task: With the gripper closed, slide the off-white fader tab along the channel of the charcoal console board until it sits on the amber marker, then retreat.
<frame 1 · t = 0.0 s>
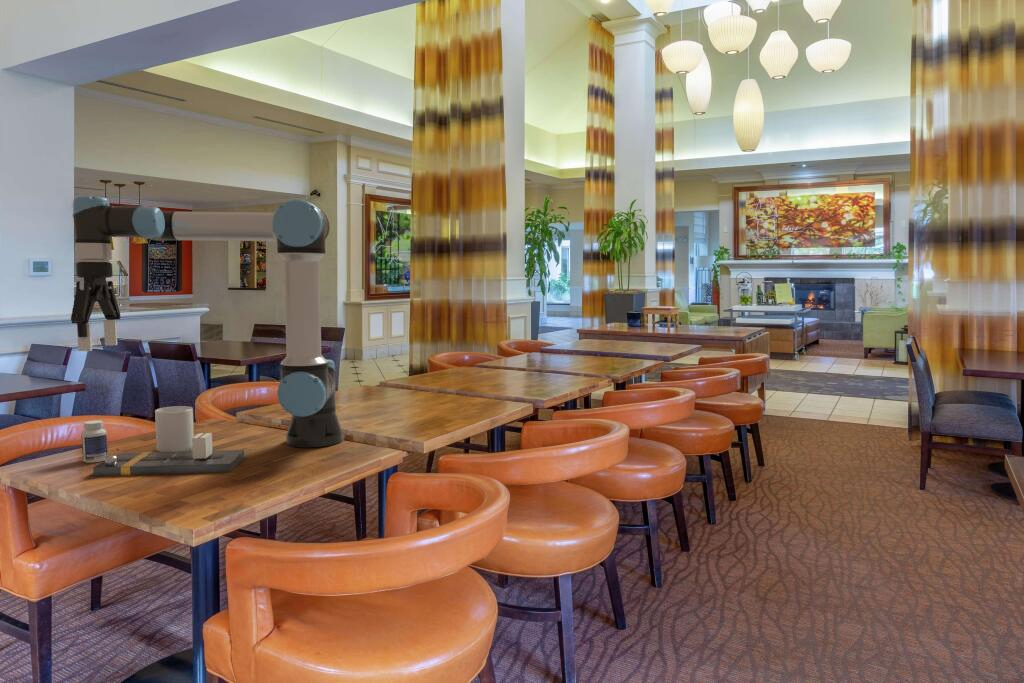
hand: (98, 348, 169), 28 cm above the table, fingers open, 13 cm apart
fader tab: (202, 445, 166), point 5 cm above the table, slide at 0.0 cm
console board: (172, 466, 165), on the table
pill bottle: (95, 461, 171), on the table
mug: (176, 450, 182), on the table
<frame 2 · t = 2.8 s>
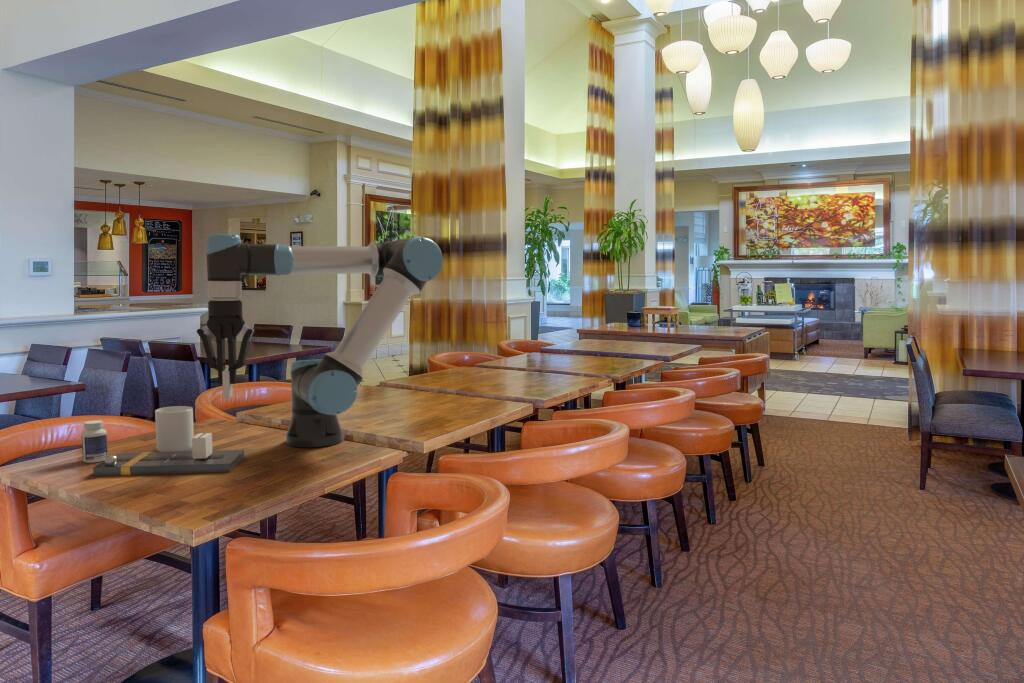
hand: (227, 397, 165), 17 cm above the table, fingers closed
nothing on the table moved.
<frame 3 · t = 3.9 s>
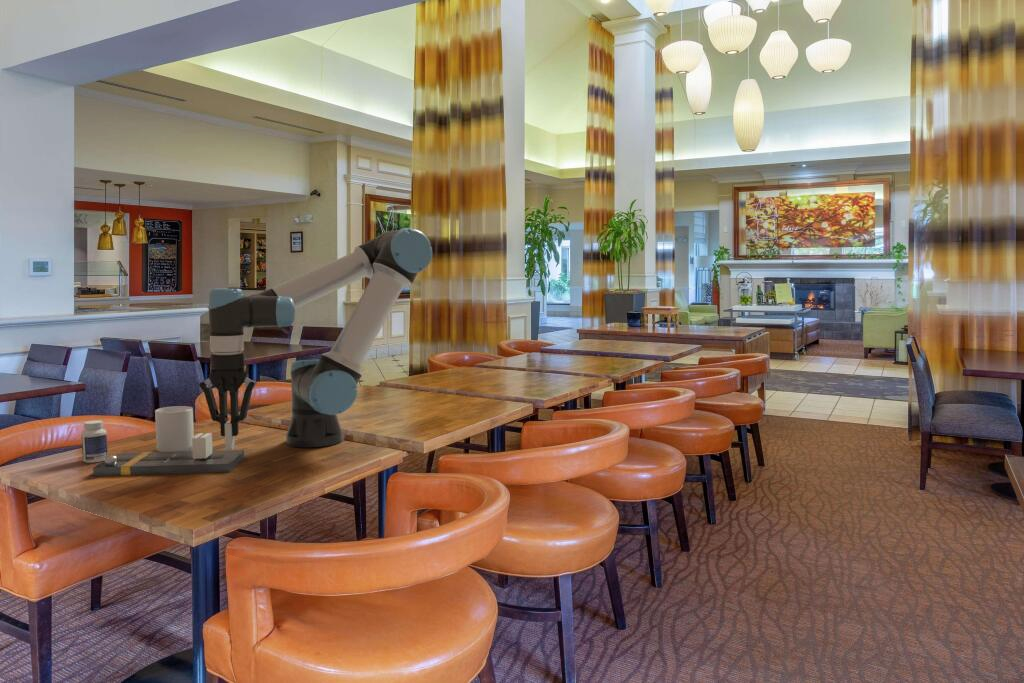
hand: (230, 449, 167), 4 cm above the table, fingers closed
nothing on the table moved.
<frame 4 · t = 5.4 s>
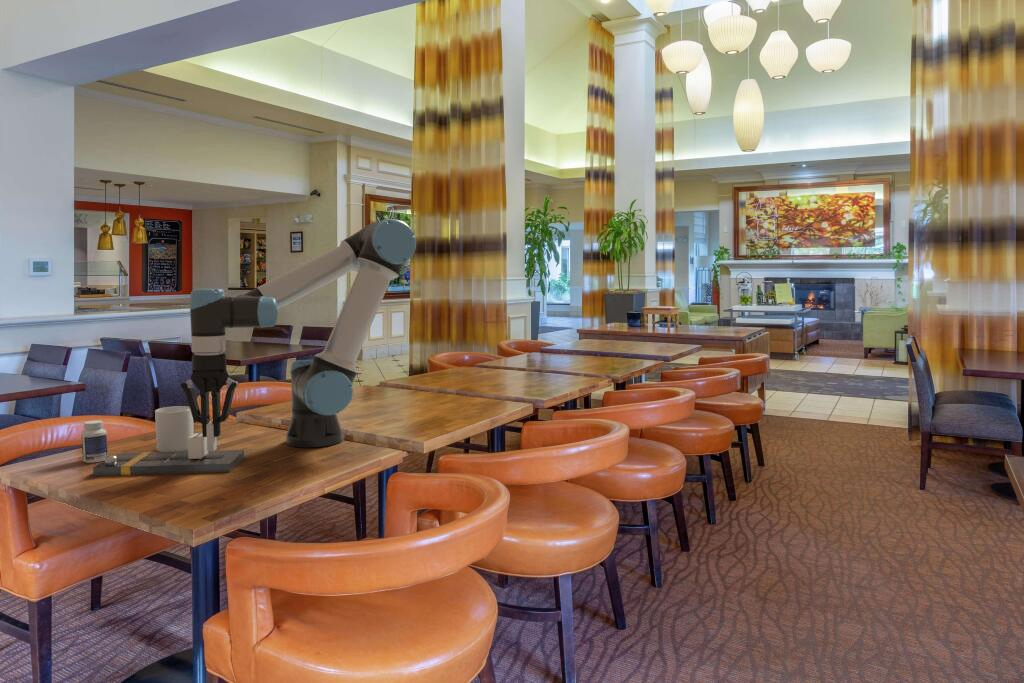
hand: (212, 449, 166), 4 cm above the table, fingers closed
fader tab: (197, 445, 166), point 5 cm above the table, slide at 1.1 cm, touching gripper
everything else where it was.
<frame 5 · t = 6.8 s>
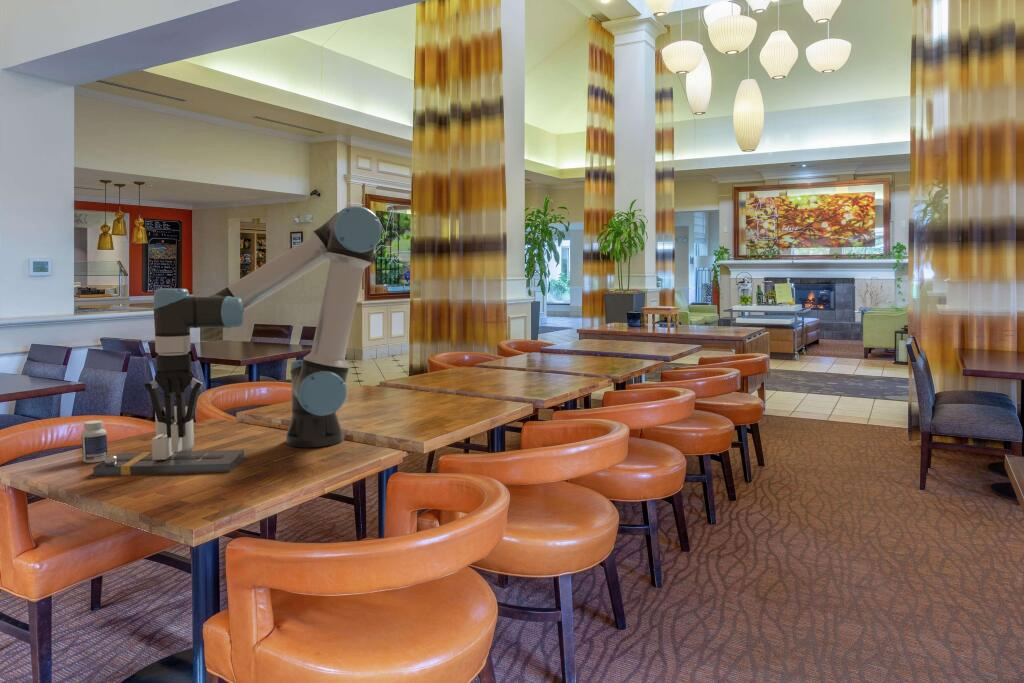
hand: (176, 450, 165), 4 cm above the table, fingers closed
fader tab: (162, 446, 165), point 5 cm above the table, slide at 9.1 cm, touching gripper
everything else where it was.
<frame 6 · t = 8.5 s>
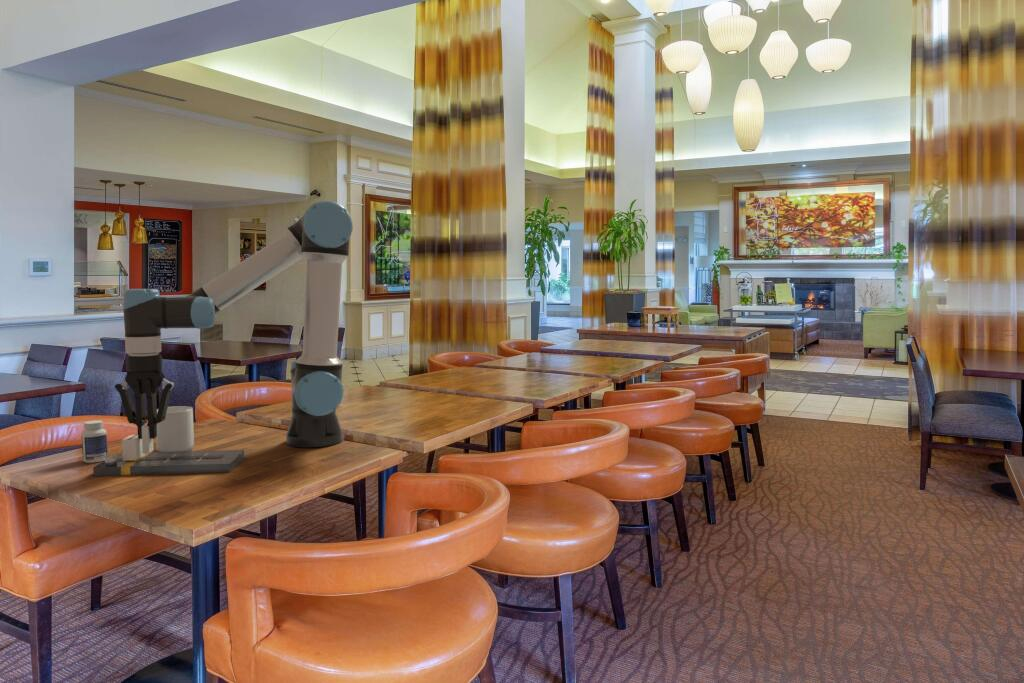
hand: (148, 451, 164), 4 cm above the table, fingers closed
fader tab: (133, 447, 164), point 5 cm above the table, slide at 15.7 cm, touching gripper
everything else where it was.
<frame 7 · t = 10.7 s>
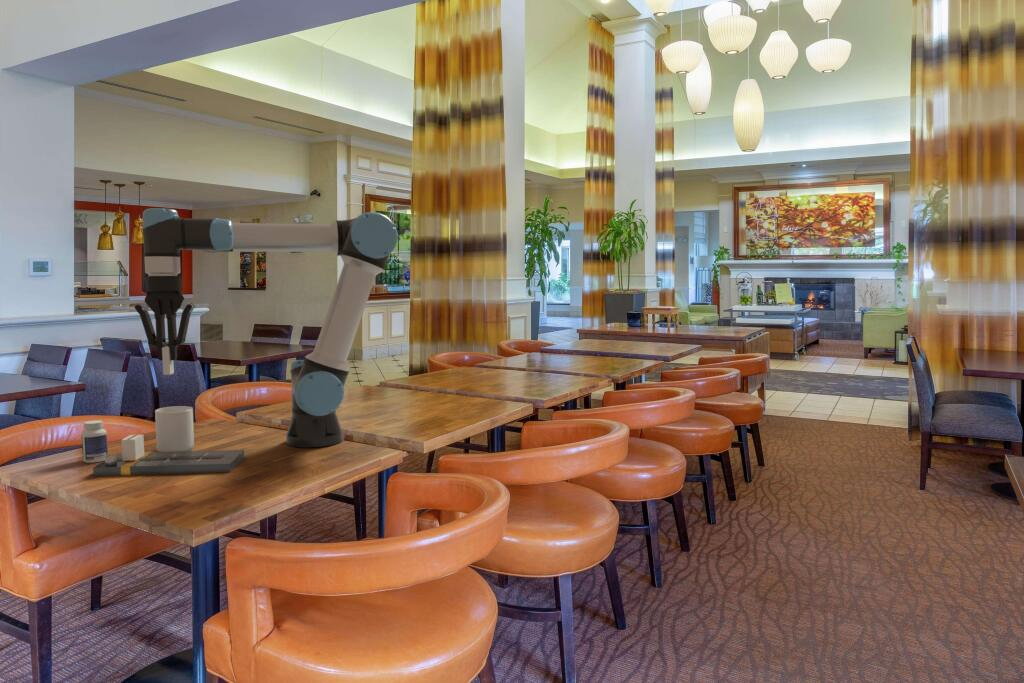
hand: (168, 373, 164), 22 cm above the table, fingers closed
fader tab: (133, 447, 164), point 5 cm above the table, slide at 15.8 cm
everything else where it was.
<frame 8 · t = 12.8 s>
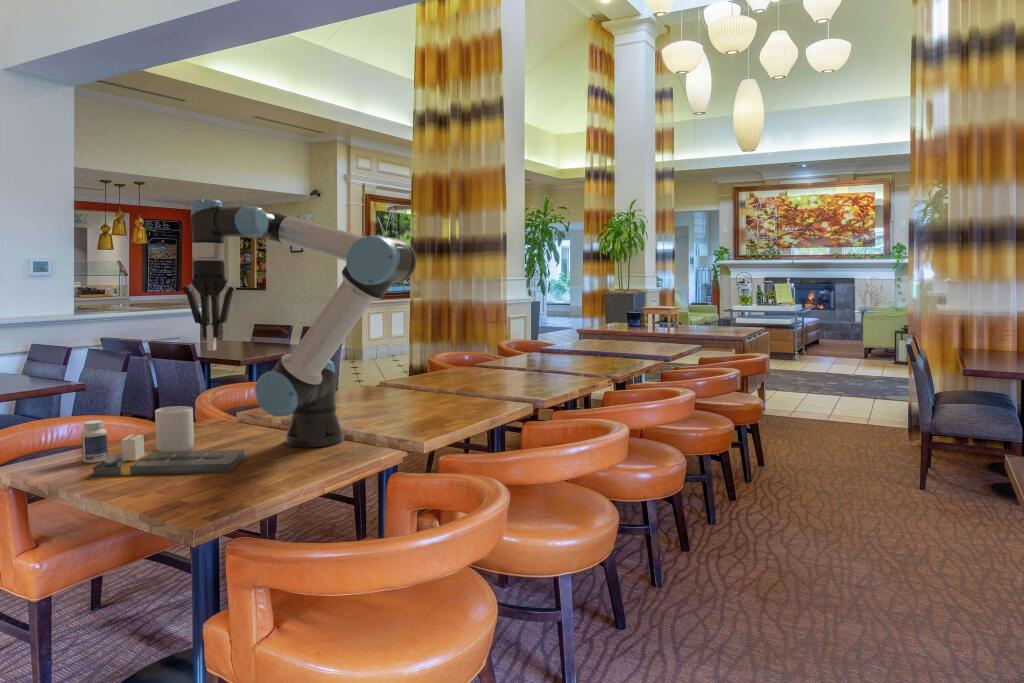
hand: (211, 350, 180), 26 cm above the table, fingers closed
nothing on the table moved.
at the end: fader tab slide at 15.8 cm; fader tab touching nothing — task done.
